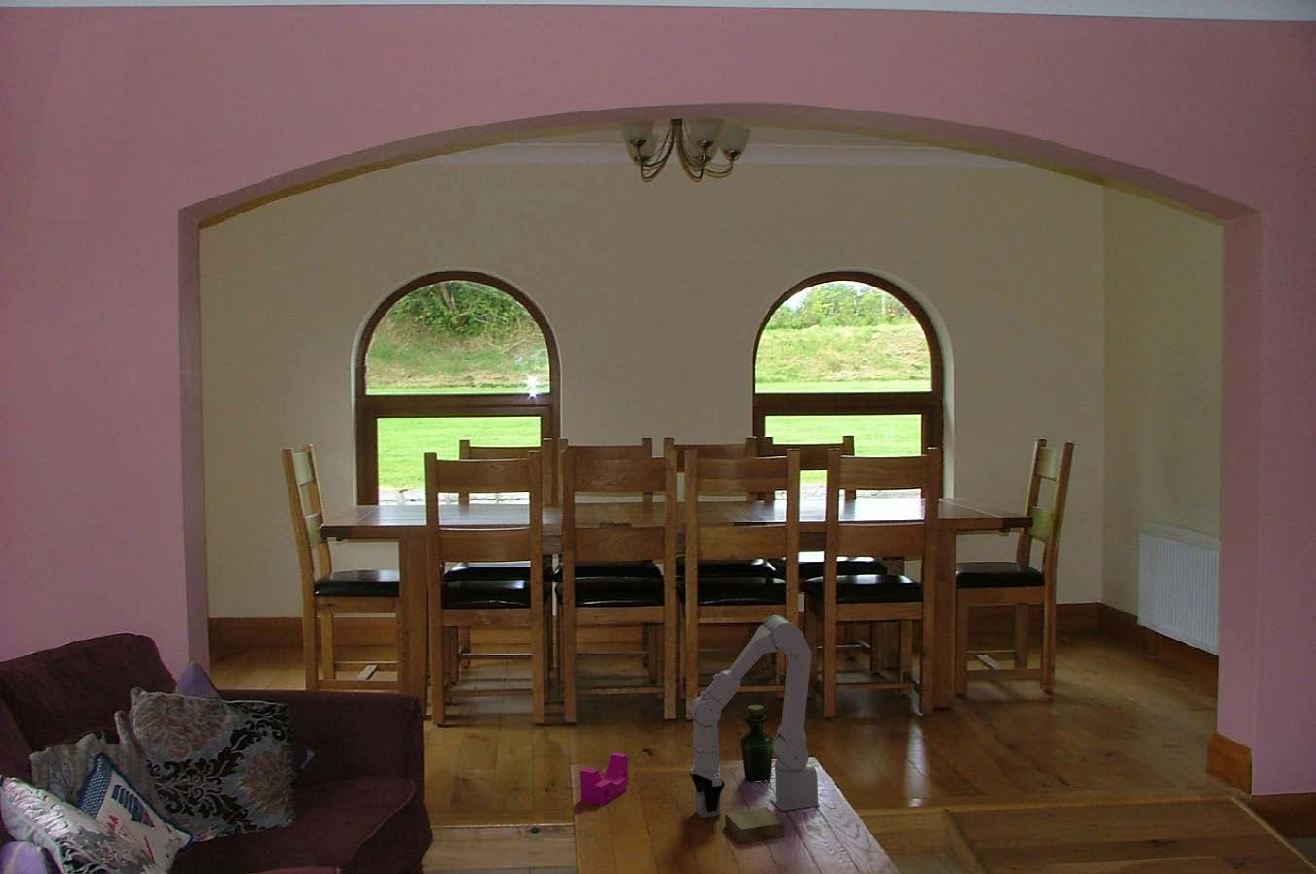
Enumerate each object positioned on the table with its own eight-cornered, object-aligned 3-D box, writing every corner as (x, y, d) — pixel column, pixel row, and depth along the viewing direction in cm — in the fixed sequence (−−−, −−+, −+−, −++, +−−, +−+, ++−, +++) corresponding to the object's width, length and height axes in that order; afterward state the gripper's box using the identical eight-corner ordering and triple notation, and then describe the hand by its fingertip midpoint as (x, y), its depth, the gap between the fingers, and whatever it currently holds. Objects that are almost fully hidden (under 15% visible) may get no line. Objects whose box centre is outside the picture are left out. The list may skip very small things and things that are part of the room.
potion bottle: (778, 782, 298) (776, 710, 297) (746, 785, 297) (744, 713, 296) (769, 771, 306) (767, 701, 305) (737, 774, 305) (735, 704, 303)
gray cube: (714, 808, 283) (713, 789, 282) (720, 815, 278) (720, 796, 278) (695, 811, 281) (695, 792, 281) (702, 818, 277) (701, 799, 277)
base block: (767, 819, 274) (766, 807, 274) (784, 836, 265) (783, 822, 265) (725, 826, 271) (725, 813, 271) (741, 843, 262) (740, 829, 262)
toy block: (602, 805, 287) (601, 774, 287) (580, 801, 291) (579, 770, 290) (636, 785, 300) (635, 756, 299) (616, 781, 303) (614, 752, 303)
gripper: (680, 742, 285) (681, 798, 285) (699, 761, 271) (701, 820, 272) (708, 738, 287) (710, 794, 287) (729, 757, 273) (731, 816, 274)
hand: (708, 806), depth 280 cm, fingers open, 5 cm apart
